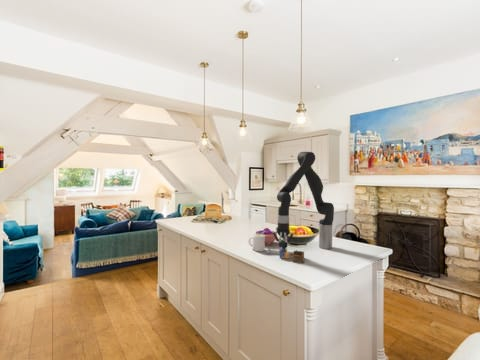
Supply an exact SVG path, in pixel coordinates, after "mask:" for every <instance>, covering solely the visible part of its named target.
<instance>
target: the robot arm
mask: <svg viewBox="0 0 480 360" xmlns="http://www.w3.org/2000/svg"><path fill="white" fill-rule="evenodd" d="M296 158H297V162H298V165H299V167H298V168H297V169H296V170H295V171H294V172H293V173H292V174H291V175H290V176H289V178H288V179H287V181H286V182H285V184H284V186H283V187H281V189H280V190H279V191H278V193H277V194H276V200H277V201H278V202H280V206H279V207H278V209H277V211H278V215H277V230H276V231H275V232H274V233H273V234H274V236H275V239H276V240H275V241H276V242H278V247H279V248H281V240H282V239H283V238H284V240H285V248H288V243H291V240H292V238H293V236H294V233H293V232H291V231H290V207H291V202H292V197H291V193H292V192H294V190H296V188H297V186H298V184H299V183H300V181H301V180H302V178H303V177H304V176H305V179H306V181H307V185H308V187H309V190H310V192H311V195H312V197H313V200H314V201H313V202H314V204H315V207H316V211H317V212H318V214H320V215H324V218H321V219H319V221H318V223H319V224H318V225H319V226H318V227H319V228H318V247H319V248H320V249H323V250H330V249H333V222H334V216H335V215H334V214H335V207H334V204H333V203H331V202H325V201H324V200H323V198H322V194H323V191H324V190H323V189H324V184H323V182H322V180H321V177H320V176H319V175H318V173H317V172H315V170H314V169H313V168H312V166H313V165H314V163H315V162H316V161H315V160H316V155H315V153H314V152H312V151H301V152H299V153H298V155H297V157H296ZM278 236H279V238H278ZM288 236H289V238H288Z"/></svg>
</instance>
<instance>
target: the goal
mask: <svg viewBox="0 0 480 360" xmlns="http://www.w3.org/2000/svg"><path fill="white" fill-rule="evenodd" d="M293 252H294V255H293V256H292V263H298V264H305V251H301V250H297V251H296V250H293Z"/></svg>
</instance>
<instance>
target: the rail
mask: <svg viewBox="0 0 480 360" xmlns="http://www.w3.org/2000/svg"><path fill="white" fill-rule="evenodd" d="M267 250H268V251H267V254H268V255H276V256H277V255H278V256H280V252H279V250H274V249H271V247H268V249H267ZM295 251H298V250H297V249H296V250H295ZM287 252H288V253H289V254H290V257H293V255H294V251H288V250H287ZM285 253H286V252H284V254H285Z"/></svg>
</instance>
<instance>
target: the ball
mask: <svg viewBox="0 0 480 360" xmlns="http://www.w3.org/2000/svg"><path fill="white" fill-rule="evenodd" d="M288 252H289V251H288ZM288 252H286V253H285V254H284V259H285V260H290V258H291V256H290V254H289V253H288Z"/></svg>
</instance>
